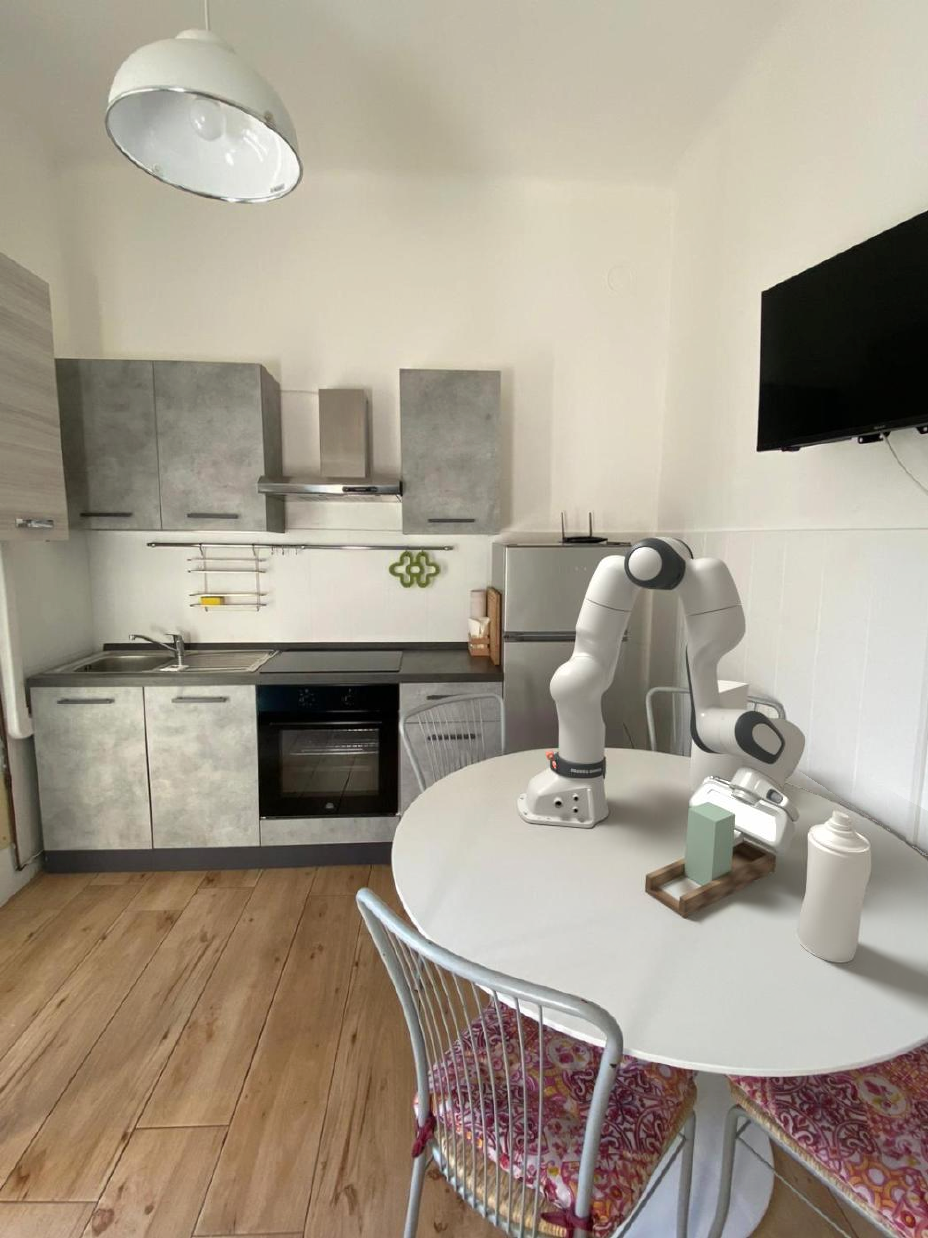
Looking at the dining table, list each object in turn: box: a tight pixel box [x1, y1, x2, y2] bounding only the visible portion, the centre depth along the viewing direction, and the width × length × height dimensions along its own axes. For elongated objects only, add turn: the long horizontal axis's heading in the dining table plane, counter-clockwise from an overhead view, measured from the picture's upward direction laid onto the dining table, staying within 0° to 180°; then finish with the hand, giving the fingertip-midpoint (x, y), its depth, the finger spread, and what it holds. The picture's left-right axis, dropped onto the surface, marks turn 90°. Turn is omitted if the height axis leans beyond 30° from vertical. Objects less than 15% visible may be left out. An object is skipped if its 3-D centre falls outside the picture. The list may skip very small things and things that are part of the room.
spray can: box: [795, 810, 872, 964], centre depth 95 cm, size 12×11×25 cm
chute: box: [644, 839, 777, 919], centre depth 115 cm, size 28×9×4 cm, turn 121°
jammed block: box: [684, 801, 736, 886], centre depth 113 cm, size 6×6×14 cm
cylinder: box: [688, 679, 750, 794], centre depth 153 cm, size 17×17×28 cm
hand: (720, 848), depth 116 cm, fingers closed, pressing on jammed block
